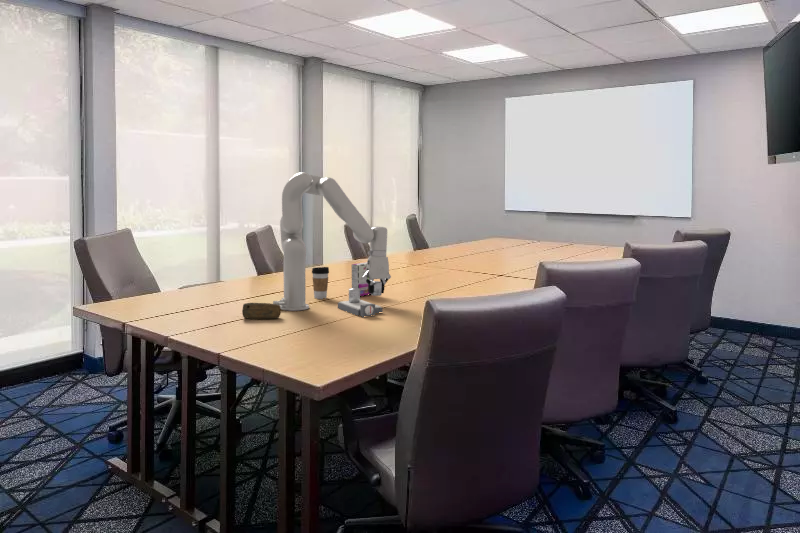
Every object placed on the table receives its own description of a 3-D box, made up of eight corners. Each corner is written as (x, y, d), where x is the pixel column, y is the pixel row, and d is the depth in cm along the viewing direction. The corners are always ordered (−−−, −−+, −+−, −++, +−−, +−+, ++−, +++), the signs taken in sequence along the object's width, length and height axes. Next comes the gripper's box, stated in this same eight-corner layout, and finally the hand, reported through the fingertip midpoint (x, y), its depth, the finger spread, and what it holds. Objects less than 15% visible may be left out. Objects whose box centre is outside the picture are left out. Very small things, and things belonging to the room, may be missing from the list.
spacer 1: (352, 303, 260) (352, 290, 260) (346, 301, 265) (346, 288, 264) (361, 302, 263) (362, 289, 262) (356, 300, 267) (356, 287, 267)
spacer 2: (374, 295, 269) (374, 282, 268) (368, 294, 273) (369, 281, 272) (383, 295, 272) (384, 282, 271) (377, 293, 276) (378, 280, 275)
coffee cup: (327, 299, 285) (327, 268, 283) (310, 299, 285) (310, 268, 283) (330, 296, 293) (330, 266, 291) (313, 296, 293) (313, 266, 291)
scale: (362, 317, 246) (362, 306, 245) (337, 308, 265) (337, 297, 264) (386, 314, 252) (386, 303, 252) (361, 305, 271) (361, 295, 271)
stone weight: (242, 321, 236) (241, 304, 235) (243, 317, 243) (243, 301, 242) (280, 320, 239) (280, 304, 238) (280, 316, 246) (280, 300, 245)
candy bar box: (365, 293, 303) (365, 261, 301) (372, 294, 300) (373, 262, 298) (350, 296, 294) (351, 263, 292) (358, 297, 291) (358, 264, 289)
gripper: (365, 254, 262) (363, 295, 264) (398, 254, 272) (396, 293, 274) (357, 253, 268) (355, 292, 271) (389, 252, 278) (387, 290, 280)
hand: (376, 292), depth 272 cm, fingers closed on spacer 2, 5 cm apart
